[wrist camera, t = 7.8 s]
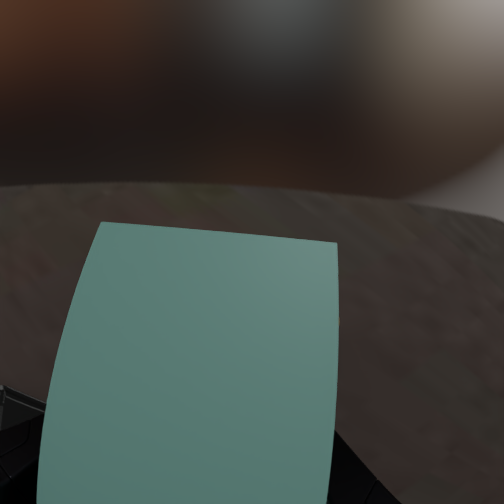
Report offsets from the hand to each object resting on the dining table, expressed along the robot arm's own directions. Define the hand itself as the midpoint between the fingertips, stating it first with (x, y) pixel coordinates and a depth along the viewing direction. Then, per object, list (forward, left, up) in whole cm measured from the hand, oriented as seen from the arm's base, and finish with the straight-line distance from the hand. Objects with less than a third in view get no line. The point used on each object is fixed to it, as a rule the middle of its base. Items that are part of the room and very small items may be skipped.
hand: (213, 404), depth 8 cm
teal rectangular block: (-1, 0, -7) cm, 7 cm away
